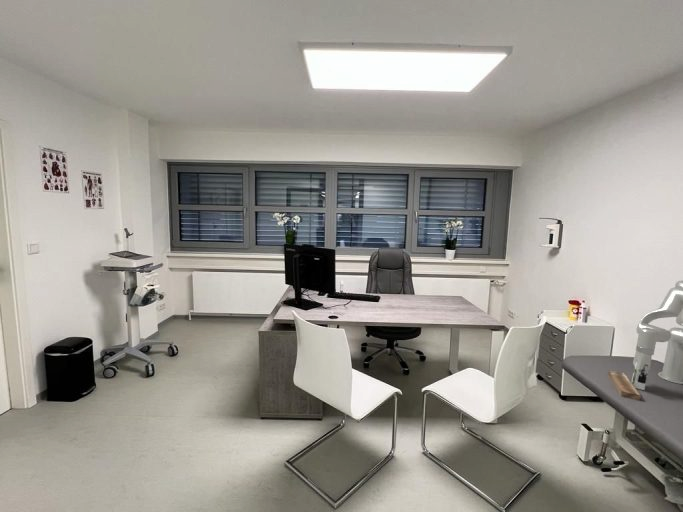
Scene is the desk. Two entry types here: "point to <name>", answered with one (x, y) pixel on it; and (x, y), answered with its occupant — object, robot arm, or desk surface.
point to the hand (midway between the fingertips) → (639, 379)
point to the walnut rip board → (624, 385)
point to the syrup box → (635, 379)
